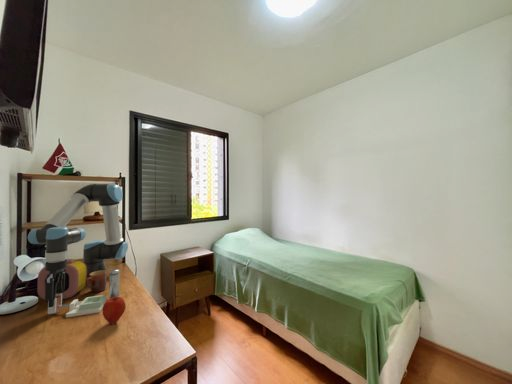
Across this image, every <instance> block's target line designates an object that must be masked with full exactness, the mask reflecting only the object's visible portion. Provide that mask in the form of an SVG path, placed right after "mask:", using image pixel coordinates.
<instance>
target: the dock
mask: <svg viewBox="0 0 512 384" xmlns="http://www.w3.org/2000/svg"><path fill="white" fill-rule="evenodd" d="M107 300H108V297H107V294H101V295H94V296H87V297H85V298H84V299H83V300H82V301H80V302H82V303H81V304H80V305H75V303H78V302H79V298H77V299H76V298H75V299H73V300H72V301H71V302H70V303H69V304H70V306H69V310H68V311H67V312H66V313H65V318H71V317H77V316H78V317H79V316H83V315H84V316H85V315H90V314H91V315H92V314H97V313H98V314H99V313H101V312H102V311H103V306H104V303H105V302H106V301H107ZM86 301H92V302H91V303H85V302H86Z"/></svg>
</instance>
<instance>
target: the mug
mask: <svg viewBox="0 0 512 384" xmlns="http://www.w3.org/2000/svg"><path fill="white" fill-rule="evenodd" d="M108 273H109V271H108V270H107V271H106V270H101V271H95V272H92V273H90V274H89V275H90V277H89V278H87V279H86V281H85V285H86V286H85V287H86V288H87V289H89V290H90V292H91V293H94V294H95V293H102V292H103V291H105V290H106V288H107V275H108ZM89 281H90V285H89Z"/></svg>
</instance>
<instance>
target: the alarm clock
mask: <svg viewBox="0 0 512 384" xmlns="http://www.w3.org/2000/svg"><path fill="white" fill-rule="evenodd" d="M66 260H67V267H66V268H64V269H66V273H65V289H64V290H65V292H64V293H62V300H65V299H70V298H72V297H74V296H75V295H76V294H77V293H78V292H80V291H82V290H84V288H85V287H86V285H85V281H86V279H87V266H86V265H85V263H84V262H83V261H81V260H78V259H73V258H72V259H69V258H68V259H67V258H66ZM64 269H63V270H64ZM48 276H49V271H46V270H45V266H44V267H43V268H42V269H40V271H39V272H38V275H37V288H36V289H37V291H36V292H37V295H38V296H39V298H41V299H43V300H45V279H47V278H48ZM64 290H63V291H64ZM56 294H57V293H56ZM45 301H46V300H45Z"/></svg>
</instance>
